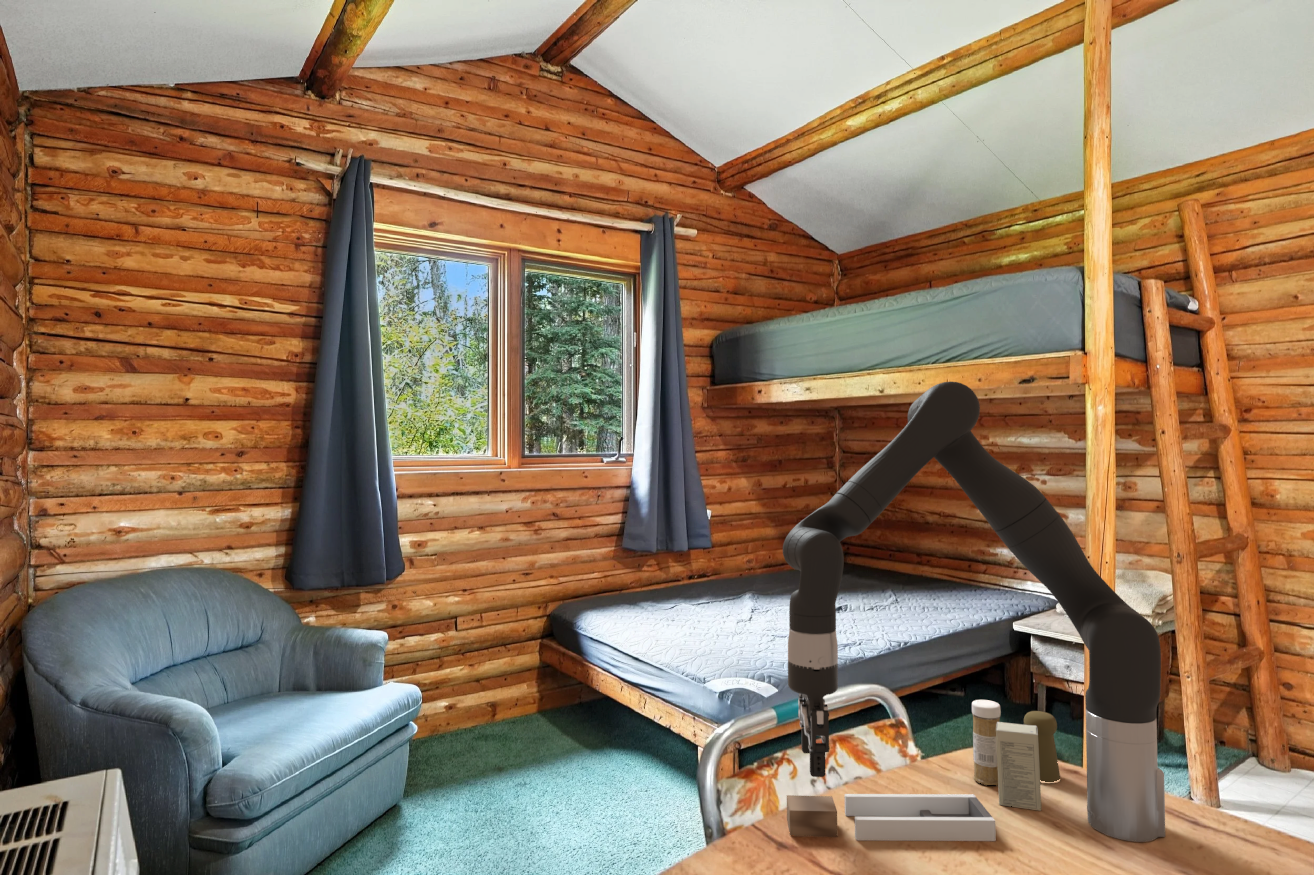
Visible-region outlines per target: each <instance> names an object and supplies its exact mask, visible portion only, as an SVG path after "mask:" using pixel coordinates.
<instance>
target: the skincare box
mask: <svg viewBox="0 0 1314 875" xmlns="http://www.w3.org/2000/svg"><path fill="white" fill-rule="evenodd" d="M996 744H997V767H998V785H997V787H998V804H999V806H1006V807H1011V806H1012V808H1013V807H1014V808H1020V809H1026V810H1031V811H1032V810H1033V811H1042V797H1041V796H1042V795H1041V794H1042V793H1041V791H1042V790H1041V783H1040V768H1039V747H1038V729H1037V726H1034V725H1024V723H1023V724H1022V723H1013V722H1012V723H1011V722H1003V721H999V722H997V724H996Z"/></svg>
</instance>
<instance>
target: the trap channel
mask: <svg viewBox="0 0 1314 875" xmlns="http://www.w3.org/2000/svg"><path fill="white" fill-rule="evenodd" d="M844 815H845V817H854V837H855V840H856V841H900V842H901V841H902V842H903V841H906V842H907V841H908V842H909V841H910V842H911V841H912V842H913V841H914V842H915V841H916V842H918V841H920V842H921V841H922V842H925V841H926V842H929V841H930V842H931V841H932V842H935V841H936V842H939V841H940V842H943V841H944V842H958V841H959V842H996V841H997V840H996V839H997V838H996V820H995V819H994V817H993V815H991V814H990V812H989V811H988V809H987V808H986V807H985V806H984V805H983V803H981V801H980V800H979V799H978V797H977V796H976V795H975V794H972V793H971V794H970V793H968V794H965V793H963V794H961V793H960V794H959V793H957V794H955V793H954V794H953V793H950V794H948V793H942V794H941V793H939V794H938V793H934V794H933V793H844Z"/></svg>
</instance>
